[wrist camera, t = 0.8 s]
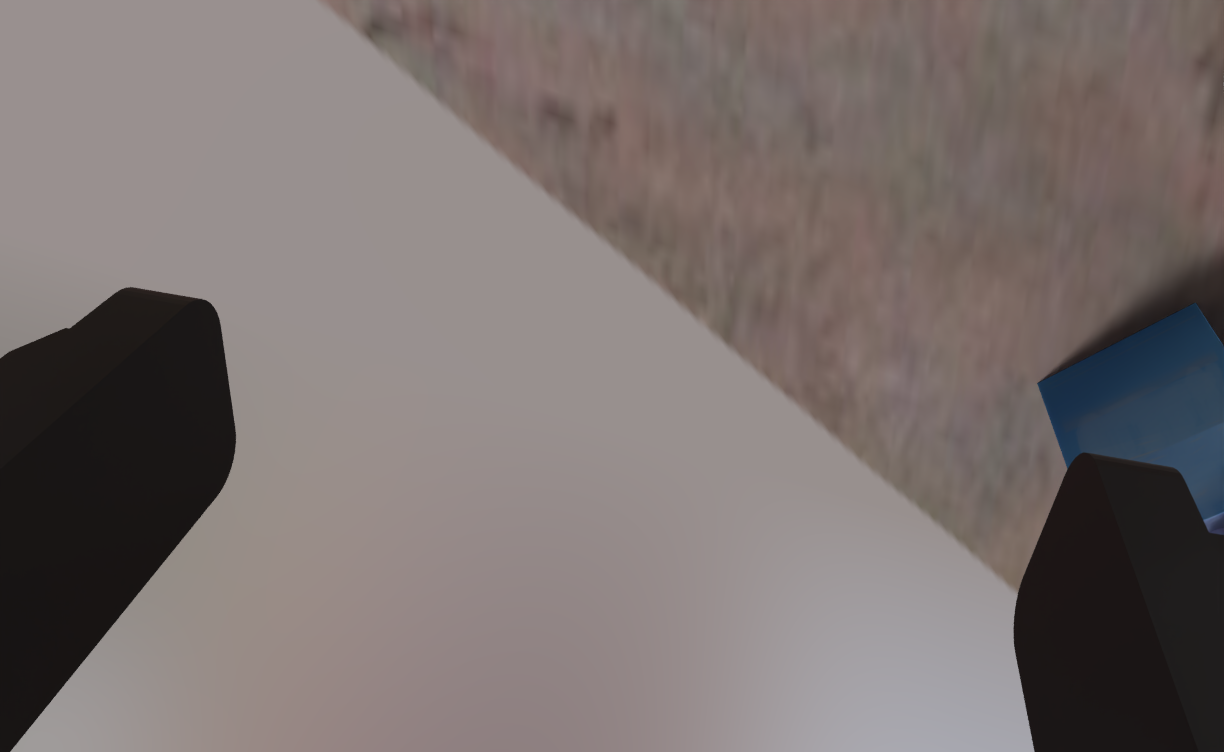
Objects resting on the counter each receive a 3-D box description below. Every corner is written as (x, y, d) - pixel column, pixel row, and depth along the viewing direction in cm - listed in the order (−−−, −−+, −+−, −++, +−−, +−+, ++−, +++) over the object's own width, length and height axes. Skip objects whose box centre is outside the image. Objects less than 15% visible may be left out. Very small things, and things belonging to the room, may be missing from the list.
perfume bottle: (1037, 383, 41) (1120, 618, 31) (1195, 302, 38) (1341, 534, 28) (1111, 479, 43) (1210, 726, 33) (1266, 410, 40) (1423, 658, 30)
